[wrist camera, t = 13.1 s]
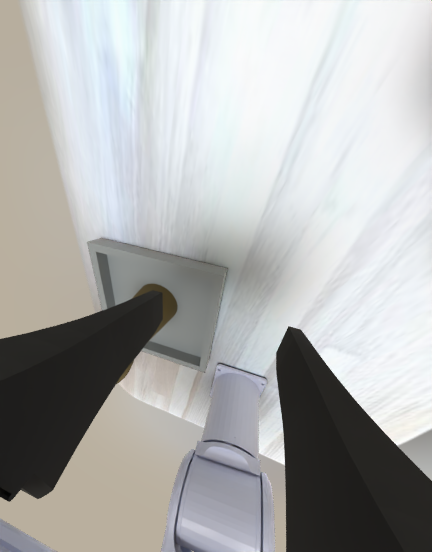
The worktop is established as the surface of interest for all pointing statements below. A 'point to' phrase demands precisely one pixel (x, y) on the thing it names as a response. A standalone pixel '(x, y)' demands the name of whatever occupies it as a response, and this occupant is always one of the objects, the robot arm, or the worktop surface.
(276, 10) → the worktop surface
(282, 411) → the robot arm
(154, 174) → the worktop surface
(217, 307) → the grey tray
